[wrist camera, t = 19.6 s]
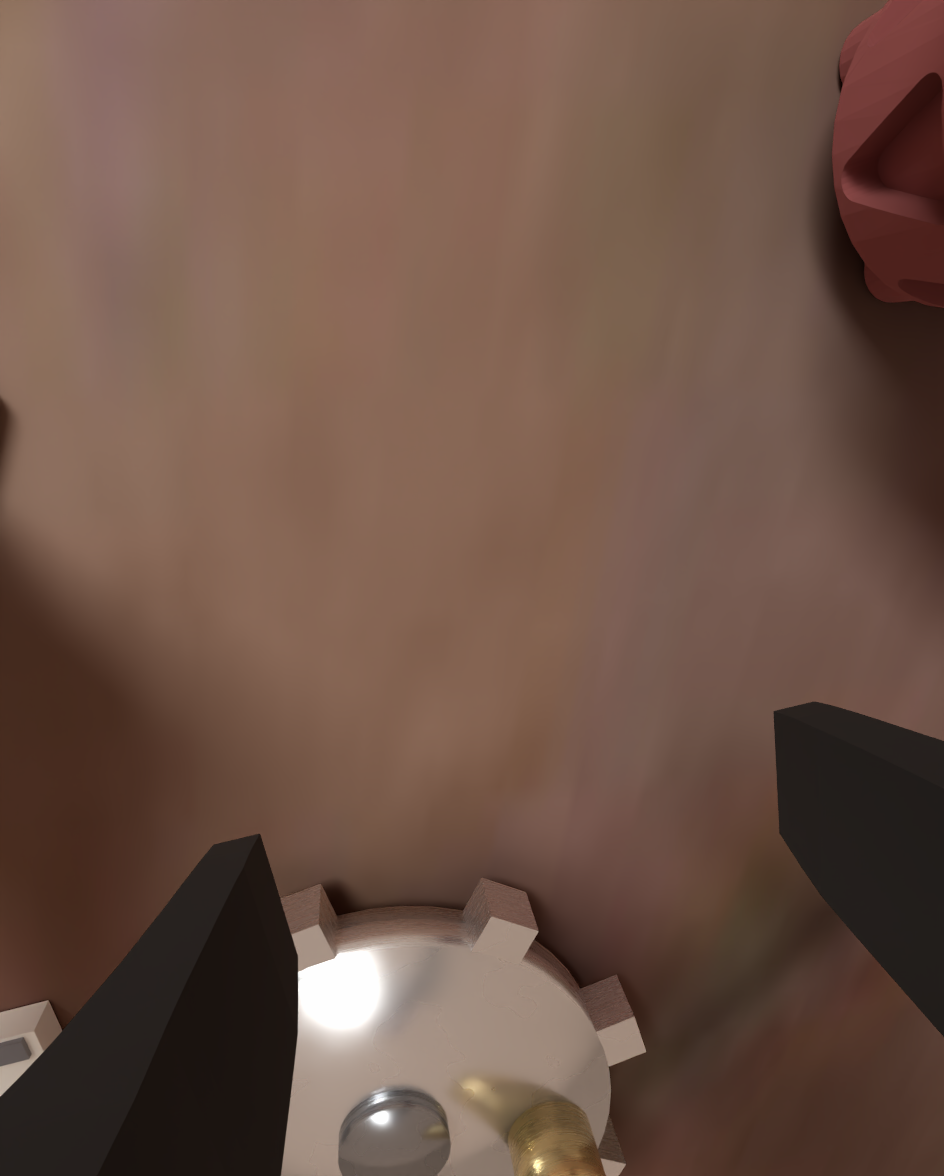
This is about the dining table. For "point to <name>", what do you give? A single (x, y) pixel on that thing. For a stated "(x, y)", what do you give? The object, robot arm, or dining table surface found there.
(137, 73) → the dining table surface
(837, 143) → the mechanical component
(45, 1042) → the guide plate
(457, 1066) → the sprocket wheel
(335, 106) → the dining table surface
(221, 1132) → the robot arm
